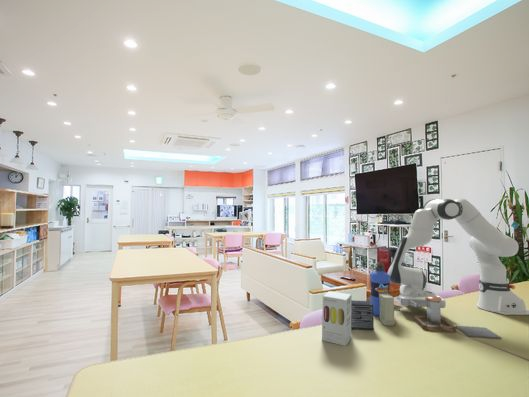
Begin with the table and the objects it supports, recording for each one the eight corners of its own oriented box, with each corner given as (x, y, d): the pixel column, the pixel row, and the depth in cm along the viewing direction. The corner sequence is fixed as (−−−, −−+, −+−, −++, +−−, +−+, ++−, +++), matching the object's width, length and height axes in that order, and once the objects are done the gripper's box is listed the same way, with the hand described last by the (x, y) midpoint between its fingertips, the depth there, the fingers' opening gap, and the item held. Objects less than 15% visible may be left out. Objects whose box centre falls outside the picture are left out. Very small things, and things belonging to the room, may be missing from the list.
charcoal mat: (485, 329, 126) (485, 327, 126) (501, 338, 116) (501, 337, 116) (455, 326, 127) (455, 325, 127) (468, 336, 118) (468, 335, 118)
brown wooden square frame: (442, 321, 134) (442, 317, 134) (457, 332, 121) (457, 328, 121) (412, 319, 136) (412, 315, 136) (423, 330, 123) (423, 325, 123)
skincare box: (394, 326, 127) (394, 297, 128) (384, 325, 127) (384, 297, 128) (388, 320, 134) (388, 293, 134) (379, 320, 134) (379, 293, 134)
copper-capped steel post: (438, 323, 131) (437, 295, 132) (444, 328, 125) (444, 300, 126) (423, 322, 132) (422, 295, 133) (428, 327, 126) (428, 299, 126)
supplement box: (321, 340, 111) (321, 295, 112) (327, 332, 119) (328, 290, 120) (346, 346, 107) (346, 299, 107) (351, 337, 115) (352, 293, 116)
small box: (370, 324, 128) (370, 300, 129) (374, 330, 122) (374, 305, 122) (345, 323, 129) (345, 299, 130) (348, 329, 123) (348, 303, 123)
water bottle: (393, 317, 138) (393, 264, 139) (373, 317, 138) (373, 263, 139) (385, 311, 147) (385, 260, 148) (367, 310, 147) (367, 260, 148)
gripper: (395, 290, 150) (403, 297, 136) (437, 292, 147) (451, 300, 134) (395, 302, 150) (403, 311, 136) (437, 305, 147) (451, 314, 133)
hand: (427, 306), depth 135 cm, fingers open, 8 cm apart
